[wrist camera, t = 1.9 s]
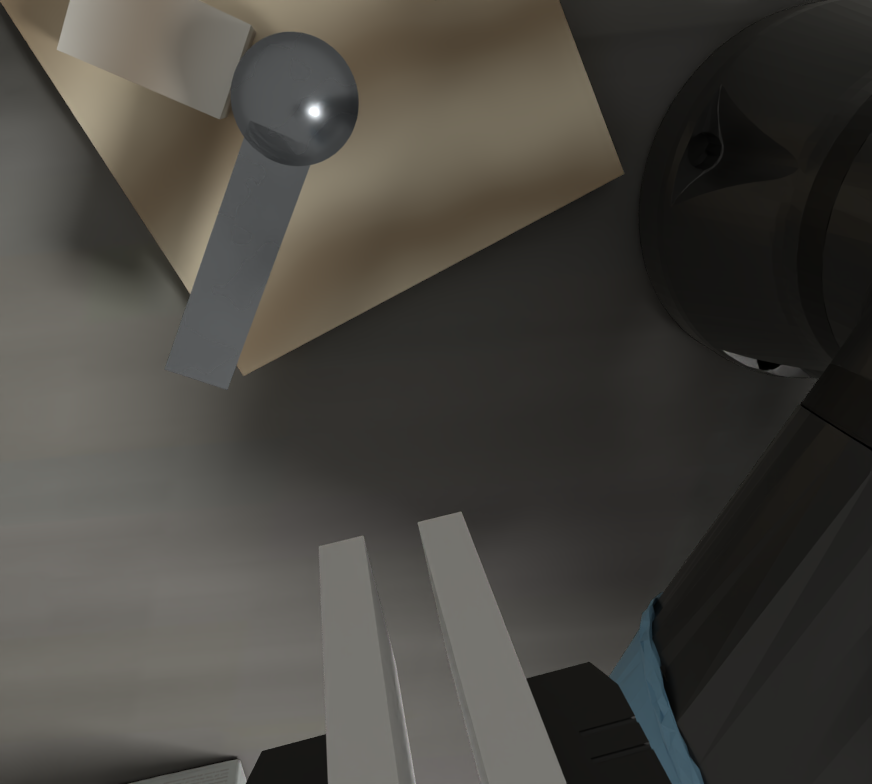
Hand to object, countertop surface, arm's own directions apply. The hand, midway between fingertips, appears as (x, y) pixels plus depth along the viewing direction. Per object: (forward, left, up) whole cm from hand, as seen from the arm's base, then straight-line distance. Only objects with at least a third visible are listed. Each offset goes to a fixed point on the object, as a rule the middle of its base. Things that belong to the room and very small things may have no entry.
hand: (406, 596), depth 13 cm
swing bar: (+5, +1, -15) cm, 16 cm away
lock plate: (+7, -4, -20) cm, 22 cm away
